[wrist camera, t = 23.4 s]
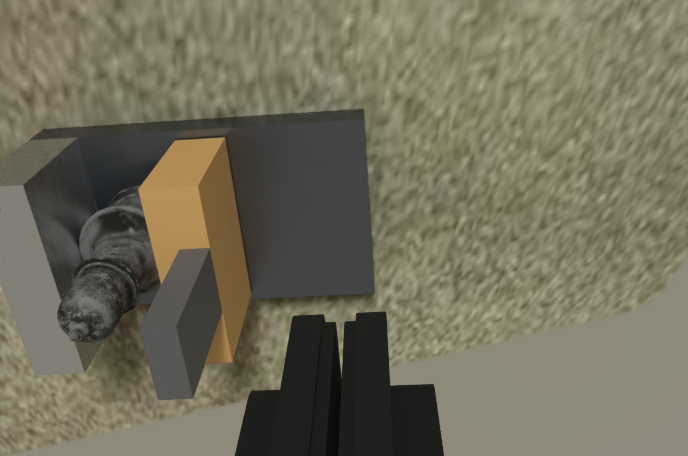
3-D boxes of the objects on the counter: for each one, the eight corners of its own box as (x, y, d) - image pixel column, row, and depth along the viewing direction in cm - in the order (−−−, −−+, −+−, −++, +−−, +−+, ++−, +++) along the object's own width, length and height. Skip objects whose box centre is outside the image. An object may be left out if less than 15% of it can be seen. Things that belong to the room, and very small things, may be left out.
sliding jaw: (206, 296, 43) (144, 456, 31) (174, 140, 38) (85, 258, 26) (251, 294, 43) (206, 454, 31) (224, 137, 38) (159, 255, 26)
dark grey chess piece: (154, 279, 43) (85, 407, 33) (82, 221, 41) (-16, 337, 31) (212, 226, 41) (159, 344, 31) (139, 162, 39) (56, 264, 29)
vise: (92, 290, 46) (35, 375, 38) (43, 129, 41) (-35, 188, 33) (374, 277, 45) (376, 361, 37) (363, 108, 39) (363, 165, 31)
